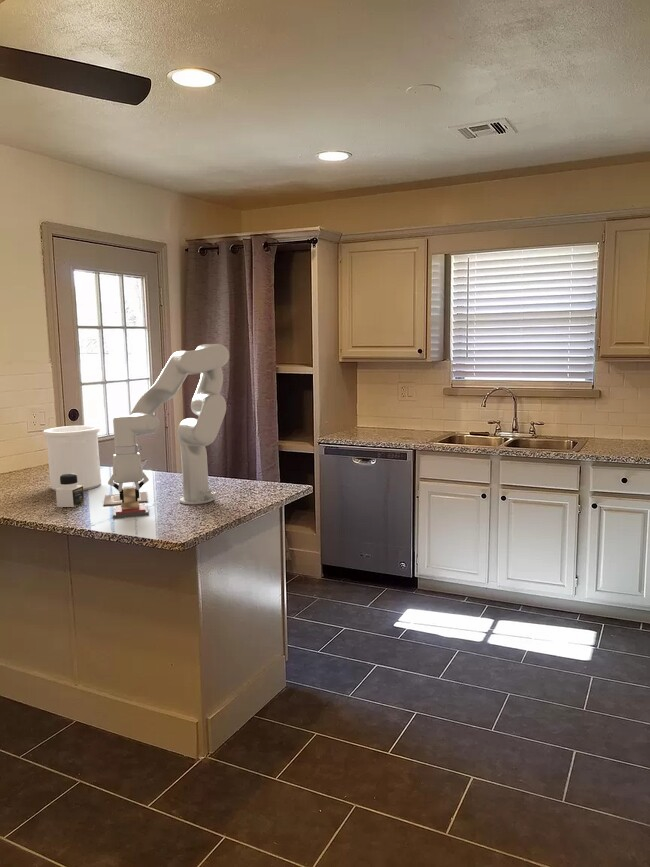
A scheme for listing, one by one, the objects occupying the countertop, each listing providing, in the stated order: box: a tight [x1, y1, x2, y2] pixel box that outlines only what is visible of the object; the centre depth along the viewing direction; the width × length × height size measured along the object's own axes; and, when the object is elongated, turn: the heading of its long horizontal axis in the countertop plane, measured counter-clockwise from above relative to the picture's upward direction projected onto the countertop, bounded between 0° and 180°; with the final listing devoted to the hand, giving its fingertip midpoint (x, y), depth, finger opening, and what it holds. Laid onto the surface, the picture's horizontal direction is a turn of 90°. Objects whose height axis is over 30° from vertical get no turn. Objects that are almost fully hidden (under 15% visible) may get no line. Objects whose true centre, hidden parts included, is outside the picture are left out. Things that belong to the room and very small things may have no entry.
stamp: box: [120, 485, 140, 511], centre depth 241 cm, size 6×6×8 cm
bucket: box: [42, 424, 102, 492], centre depth 287 cm, size 26×22×25 cm
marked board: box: [103, 491, 149, 507], centre depth 264 cm, size 16×16×1 cm
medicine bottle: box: [55, 474, 85, 508], centre depth 256 cm, size 7×7×12 cm
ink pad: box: [112, 503, 150, 519], centre depth 242 cm, size 12×10×2 cm
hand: (129, 500), depth 241 cm, fingers closed on stamp, 4 cm apart
